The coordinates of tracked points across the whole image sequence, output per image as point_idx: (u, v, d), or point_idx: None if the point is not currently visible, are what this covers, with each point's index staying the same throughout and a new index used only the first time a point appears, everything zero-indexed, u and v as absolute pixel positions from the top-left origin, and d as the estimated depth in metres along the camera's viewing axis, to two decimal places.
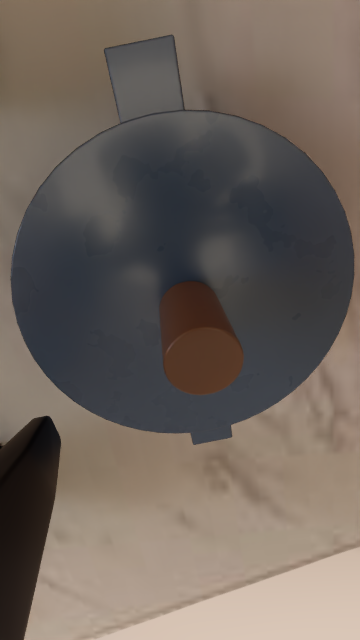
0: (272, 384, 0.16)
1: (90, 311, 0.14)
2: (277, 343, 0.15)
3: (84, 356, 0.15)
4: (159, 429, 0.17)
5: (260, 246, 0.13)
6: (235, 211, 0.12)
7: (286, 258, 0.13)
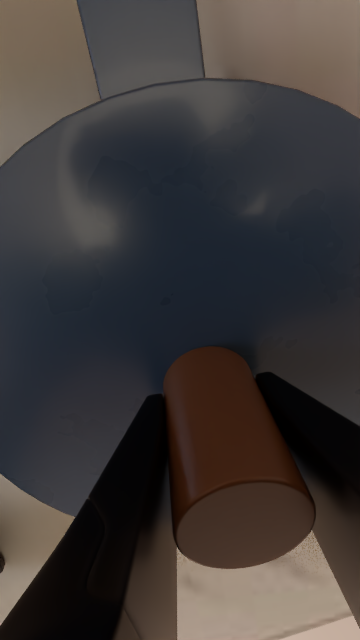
0: None
1: (60, 390, 0.09)
2: None
3: (53, 448, 0.10)
4: None
5: (318, 295, 0.09)
6: (284, 245, 0.08)
7: (355, 312, 0.09)
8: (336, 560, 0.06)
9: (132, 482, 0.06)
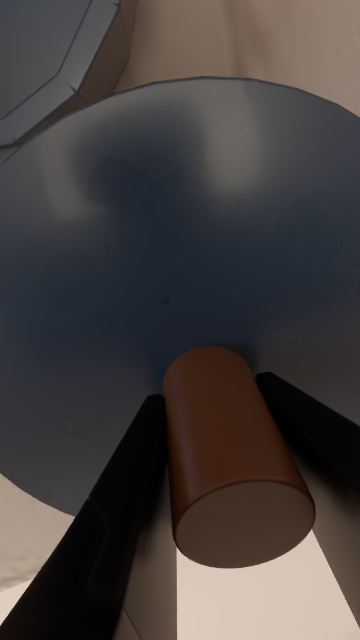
0: None
1: (59, 389, 0.09)
2: None
3: (53, 448, 0.10)
4: None
5: (318, 295, 0.09)
6: (283, 244, 0.08)
7: (355, 311, 0.09)
8: (336, 560, 0.06)
9: (132, 482, 0.06)
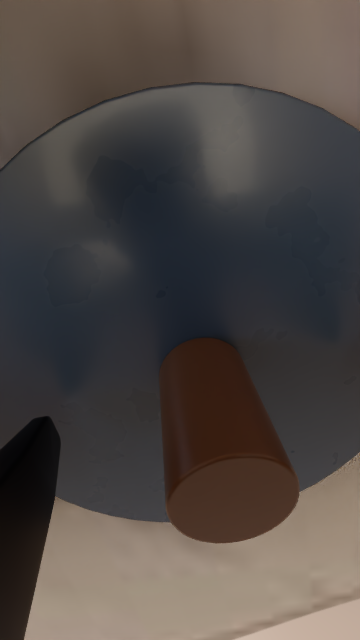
0: (310, 463, 0.12)
1: (60, 379, 0.10)
2: (321, 414, 0.11)
3: None
4: (159, 518, 0.13)
5: (307, 289, 0.09)
6: (273, 240, 0.08)
7: (343, 304, 0.09)
8: None
9: None
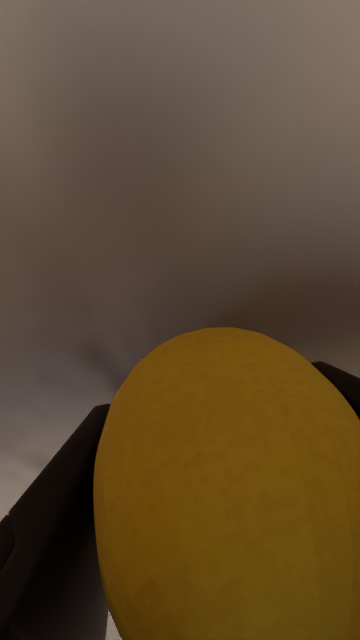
0: None
1: None
2: None
3: None
4: None
5: None
6: None
7: None
8: None
9: (53, 498, 0.06)
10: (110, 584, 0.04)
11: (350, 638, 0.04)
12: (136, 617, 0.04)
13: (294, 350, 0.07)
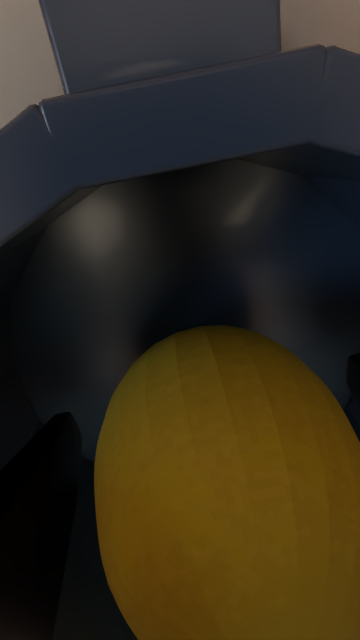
0: None
1: None
2: None
3: None
4: None
5: None
6: None
7: None
8: None
9: None
10: (110, 560, 0.05)
11: (326, 603, 0.04)
12: (133, 588, 0.04)
13: (285, 347, 0.07)
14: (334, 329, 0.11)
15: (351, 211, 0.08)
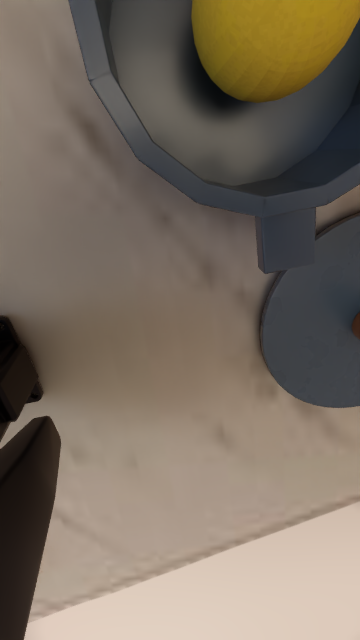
0: None
1: (309, 324, 0.21)
2: None
3: (296, 354, 0.22)
4: (328, 404, 0.24)
5: None
6: None
7: None
8: None
9: None
10: None
11: None
12: None
13: None
14: None
15: None
